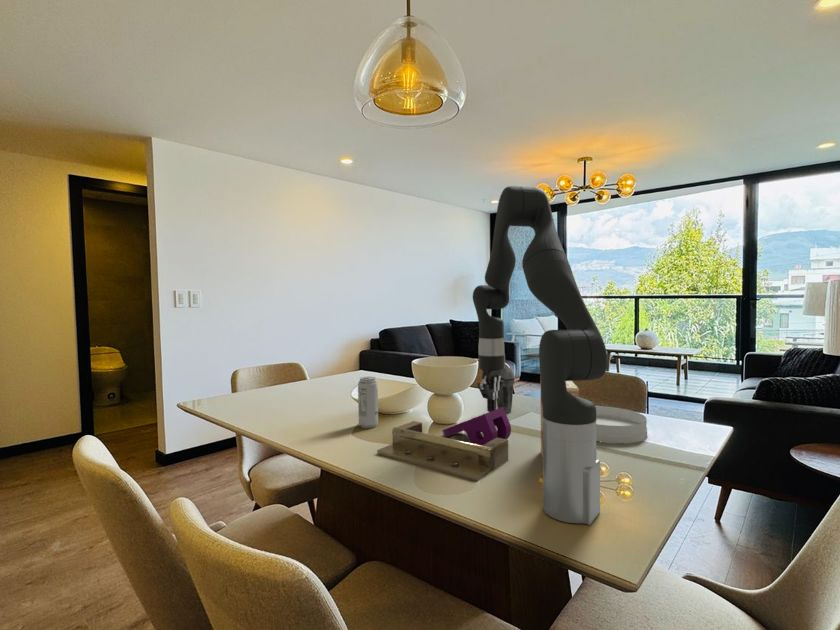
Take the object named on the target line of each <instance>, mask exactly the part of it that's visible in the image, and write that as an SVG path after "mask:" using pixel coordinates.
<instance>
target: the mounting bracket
mask: <svg viewBox="0 0 840 630" xmlns="http://www.w3.org/2000/svg"><path fill="white" fill-rule="evenodd" d="M511 426H512V425H511V423H510V420H509V418H508V415H507V413H505V410H504V408H503V407H502V408H499V409H498V408H496V410H494V411H491V412H488V411H487V413H486V412H485V413H483V414H481V415H478V416H475V417H474V418H471V419H468V420H465V421H463V422H460V423H457V424H455V425H452V426H450V427H446V428H443V429H442V430H441V431H442V434H443V435H444V436H443V437H445V438H448V437H450V436H452V435H455V434H458V433H461V432H465V434H466V436H467V438H468V441H469V443H472V444H477V445H484V444H486V443H488V442H490V441H491V440H493V439H495V438H502V439H507V440H509V438H510V436H511V433H512V427H511Z"/></svg>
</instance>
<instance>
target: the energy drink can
mask: <svg viewBox="0 0 840 630" xmlns="http://www.w3.org/2000/svg"><path fill="white" fill-rule="evenodd" d="M378 387H379V385H378V381H377V380H376V376H362V377H359V381H358V383H357V393H358V394H357V399H358V401H357V402H358V404H357V405H358V406H357V408H358V425H360V427H361V428H363V429H371V428H376V427H377V424H379V400H378V397H379V395H378Z"/></svg>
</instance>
